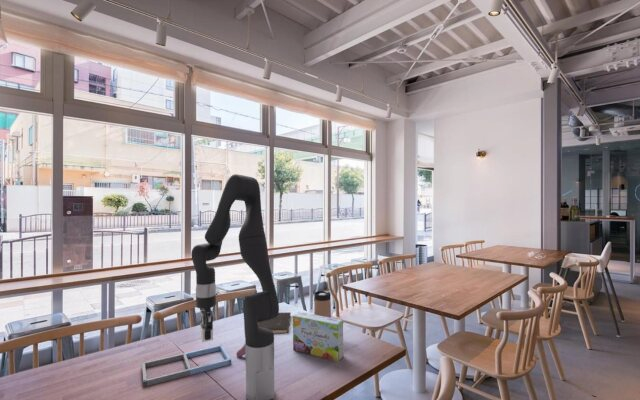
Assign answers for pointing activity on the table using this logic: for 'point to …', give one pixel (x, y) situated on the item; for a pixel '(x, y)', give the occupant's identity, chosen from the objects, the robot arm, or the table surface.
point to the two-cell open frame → (188, 369)
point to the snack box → (318, 335)
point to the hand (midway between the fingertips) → (206, 337)
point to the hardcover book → (277, 323)
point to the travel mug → (322, 304)
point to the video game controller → (241, 351)
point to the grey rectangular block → (202, 333)
